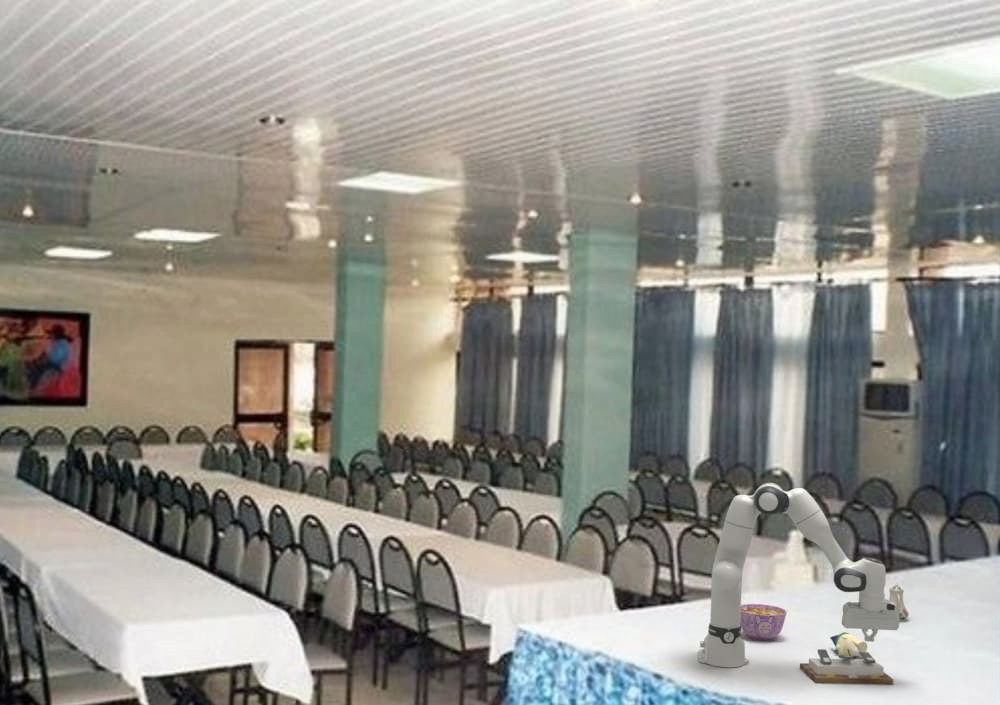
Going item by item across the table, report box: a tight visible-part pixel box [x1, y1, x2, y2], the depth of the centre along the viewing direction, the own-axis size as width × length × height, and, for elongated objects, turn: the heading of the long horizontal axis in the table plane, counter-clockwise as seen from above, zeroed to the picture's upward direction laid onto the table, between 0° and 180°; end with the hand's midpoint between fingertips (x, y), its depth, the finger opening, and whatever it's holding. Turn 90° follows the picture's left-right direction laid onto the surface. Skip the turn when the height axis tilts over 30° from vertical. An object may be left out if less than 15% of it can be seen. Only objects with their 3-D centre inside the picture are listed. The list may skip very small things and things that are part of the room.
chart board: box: [799, 662, 894, 686], centre depth 407 cm, size 18×28×2 cm, turn 93°
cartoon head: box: [830, 632, 868, 657], centre depth 436 cm, size 9×10×20 cm
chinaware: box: [888, 583, 910, 623], centre depth 499 cm, size 28×17×17 cm, turn 168°
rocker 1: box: [817, 648, 832, 665], centre depth 406 cm, size 7×3×1 cm, turn 3°
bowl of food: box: [740, 603, 787, 641], centre depth 459 cm, size 20×20×12 cm
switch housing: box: [808, 657, 884, 676], centre depth 407 cm, size 10×24×4 cm, turn 93°
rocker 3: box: [860, 651, 876, 663], centre depth 407 cm, size 7×3×1 cm, turn 3°
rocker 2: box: [838, 654, 855, 660], centre depth 407 cm, size 7×3×1 cm, turn 3°
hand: (869, 641), depth 405 cm, fingers closed
